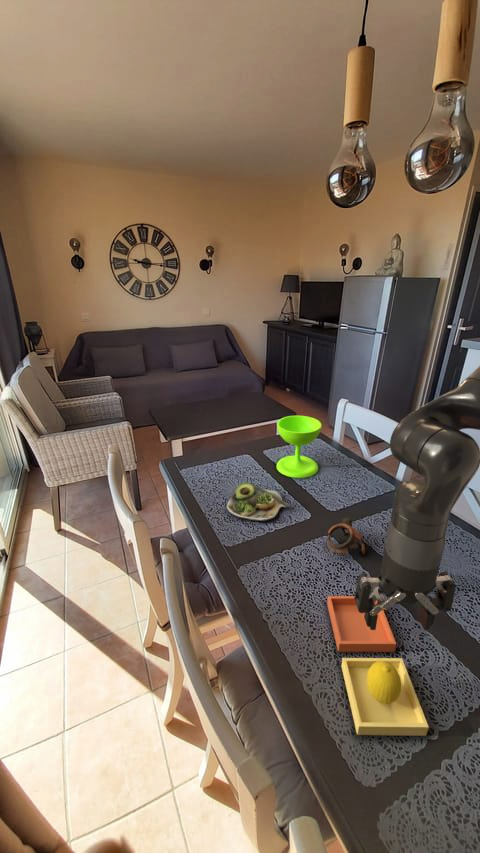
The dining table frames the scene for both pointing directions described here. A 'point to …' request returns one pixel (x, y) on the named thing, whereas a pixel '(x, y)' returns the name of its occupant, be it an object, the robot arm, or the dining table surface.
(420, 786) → the dining table surface
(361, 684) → the cream tray
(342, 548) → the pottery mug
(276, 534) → the dining table surface
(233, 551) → the dining table surface
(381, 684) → the lemon
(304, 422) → the wineglass
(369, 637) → the terracotta tray
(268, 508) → the salad plate
